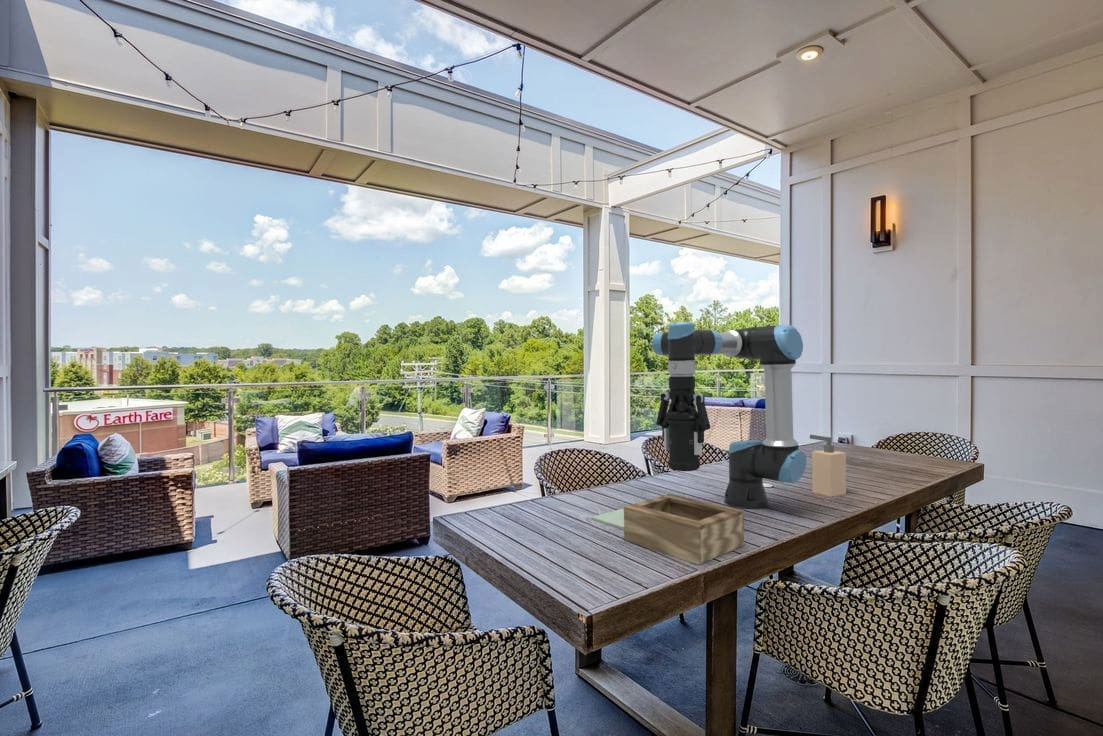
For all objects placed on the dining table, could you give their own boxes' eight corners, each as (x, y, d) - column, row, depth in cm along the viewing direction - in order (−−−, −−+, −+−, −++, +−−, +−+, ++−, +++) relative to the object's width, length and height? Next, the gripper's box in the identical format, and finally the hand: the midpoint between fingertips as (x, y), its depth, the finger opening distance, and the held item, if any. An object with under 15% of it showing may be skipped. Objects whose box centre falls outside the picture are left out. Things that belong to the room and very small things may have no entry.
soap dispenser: (846, 494, 209) (846, 438, 209) (830, 496, 206) (830, 439, 205) (818, 487, 221) (818, 434, 220) (803, 489, 217) (803, 435, 217)
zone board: (623, 510, 190) (623, 508, 190) (659, 520, 178) (659, 518, 178) (591, 519, 180) (591, 517, 180) (627, 530, 168) (627, 528, 168)
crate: (670, 524, 174) (669, 493, 173) (743, 545, 154) (743, 510, 154) (624, 539, 159) (623, 506, 159) (698, 564, 140) (698, 526, 139)
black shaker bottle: (677, 473, 150) (676, 401, 149) (659, 465, 161) (658, 399, 160) (706, 470, 152) (705, 400, 152) (687, 463, 163) (686, 397, 163)
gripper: (643, 375, 162) (644, 448, 162) (707, 376, 145) (708, 458, 145) (659, 374, 167) (660, 445, 167) (723, 375, 150) (724, 455, 150)
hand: (682, 452), depth 156 cm, fingers closed on black shaker bottle, 10 cm apart
